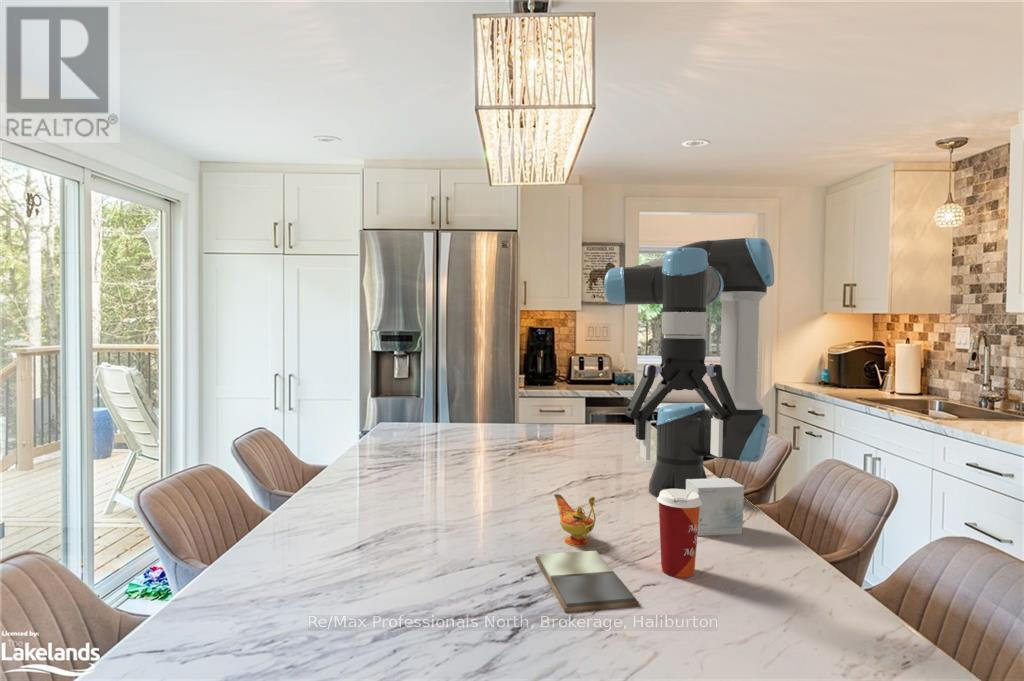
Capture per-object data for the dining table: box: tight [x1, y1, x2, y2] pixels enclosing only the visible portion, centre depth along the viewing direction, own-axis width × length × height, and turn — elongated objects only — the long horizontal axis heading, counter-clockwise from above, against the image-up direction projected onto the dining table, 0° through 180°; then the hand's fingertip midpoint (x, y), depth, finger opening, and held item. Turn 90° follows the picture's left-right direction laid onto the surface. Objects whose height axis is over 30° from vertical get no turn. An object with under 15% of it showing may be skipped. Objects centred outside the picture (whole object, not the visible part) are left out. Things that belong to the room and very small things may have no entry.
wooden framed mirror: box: [535, 550, 640, 613], centre depth 102 cm, size 12×20×1 cm, turn 11°
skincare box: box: [686, 477, 745, 537], centre depth 127 cm, size 10×6×10 cm, turn 99°
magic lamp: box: [553, 493, 596, 547], centre depth 121 cm, size 7×18×11 cm, turn 20°
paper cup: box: [656, 489, 702, 579], centre depth 106 cm, size 8×8×14 cm
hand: (681, 456), depth 105 cm, fingers open, 13 cm apart
